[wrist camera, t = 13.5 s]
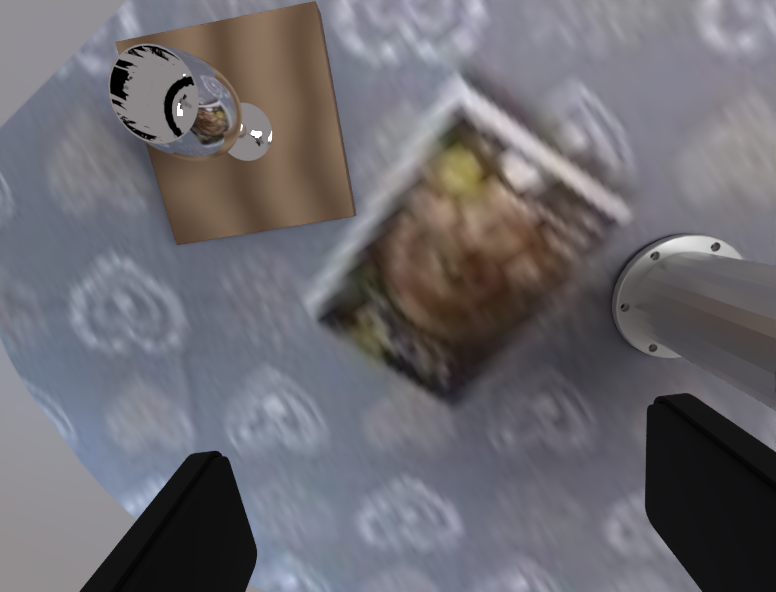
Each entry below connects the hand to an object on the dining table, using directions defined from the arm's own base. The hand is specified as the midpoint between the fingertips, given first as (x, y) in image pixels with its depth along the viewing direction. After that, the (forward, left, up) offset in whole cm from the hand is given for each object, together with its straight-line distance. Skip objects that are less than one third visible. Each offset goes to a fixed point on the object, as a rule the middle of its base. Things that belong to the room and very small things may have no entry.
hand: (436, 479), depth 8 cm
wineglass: (+12, -13, -26) cm, 31 cm away
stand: (+12, -13, -30) cm, 35 cm away
